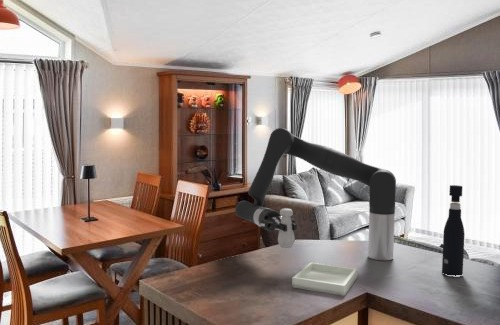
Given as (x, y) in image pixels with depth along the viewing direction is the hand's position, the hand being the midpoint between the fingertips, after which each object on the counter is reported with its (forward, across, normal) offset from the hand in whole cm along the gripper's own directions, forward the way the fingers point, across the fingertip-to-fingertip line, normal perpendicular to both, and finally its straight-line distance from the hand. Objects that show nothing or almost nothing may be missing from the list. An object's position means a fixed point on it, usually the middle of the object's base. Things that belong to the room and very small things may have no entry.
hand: (290, 227), depth 151 cm
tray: (+13, +5, +15) cm, 21 cm away
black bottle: (+23, +49, +16) cm, 57 cm away
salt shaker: (-3, 0, +7) cm, 8 cm away
